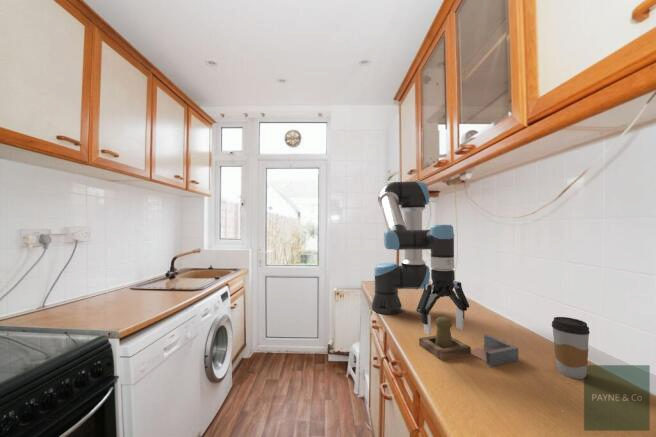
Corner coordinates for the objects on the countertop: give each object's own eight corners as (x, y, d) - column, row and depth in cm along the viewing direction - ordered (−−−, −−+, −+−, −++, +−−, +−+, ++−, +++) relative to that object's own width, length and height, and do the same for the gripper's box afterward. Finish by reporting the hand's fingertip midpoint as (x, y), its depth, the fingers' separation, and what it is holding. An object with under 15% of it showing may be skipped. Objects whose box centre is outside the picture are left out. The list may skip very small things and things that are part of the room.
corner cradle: (461, 350, 94) (461, 338, 94) (487, 345, 98) (487, 334, 98) (490, 366, 83) (490, 353, 84) (518, 360, 87) (518, 348, 87)
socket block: (419, 345, 99) (419, 337, 99) (445, 340, 102) (445, 333, 102) (442, 360, 88) (441, 352, 88) (470, 354, 91) (470, 346, 91)
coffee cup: (592, 373, 79) (590, 321, 80) (590, 385, 74) (588, 328, 74) (555, 363, 85) (553, 314, 86) (550, 373, 80) (549, 321, 80)
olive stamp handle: (455, 354, 91) (455, 321, 92) (436, 353, 93) (435, 320, 93) (451, 346, 97) (450, 315, 98) (433, 345, 99) (432, 314, 99)
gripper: (418, 273, 88) (419, 340, 88) (479, 268, 96) (481, 330, 95) (405, 269, 95) (406, 331, 95) (463, 265, 103) (464, 323, 102)
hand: (443, 331), depth 95 cm, fingers open, 13 cm apart
